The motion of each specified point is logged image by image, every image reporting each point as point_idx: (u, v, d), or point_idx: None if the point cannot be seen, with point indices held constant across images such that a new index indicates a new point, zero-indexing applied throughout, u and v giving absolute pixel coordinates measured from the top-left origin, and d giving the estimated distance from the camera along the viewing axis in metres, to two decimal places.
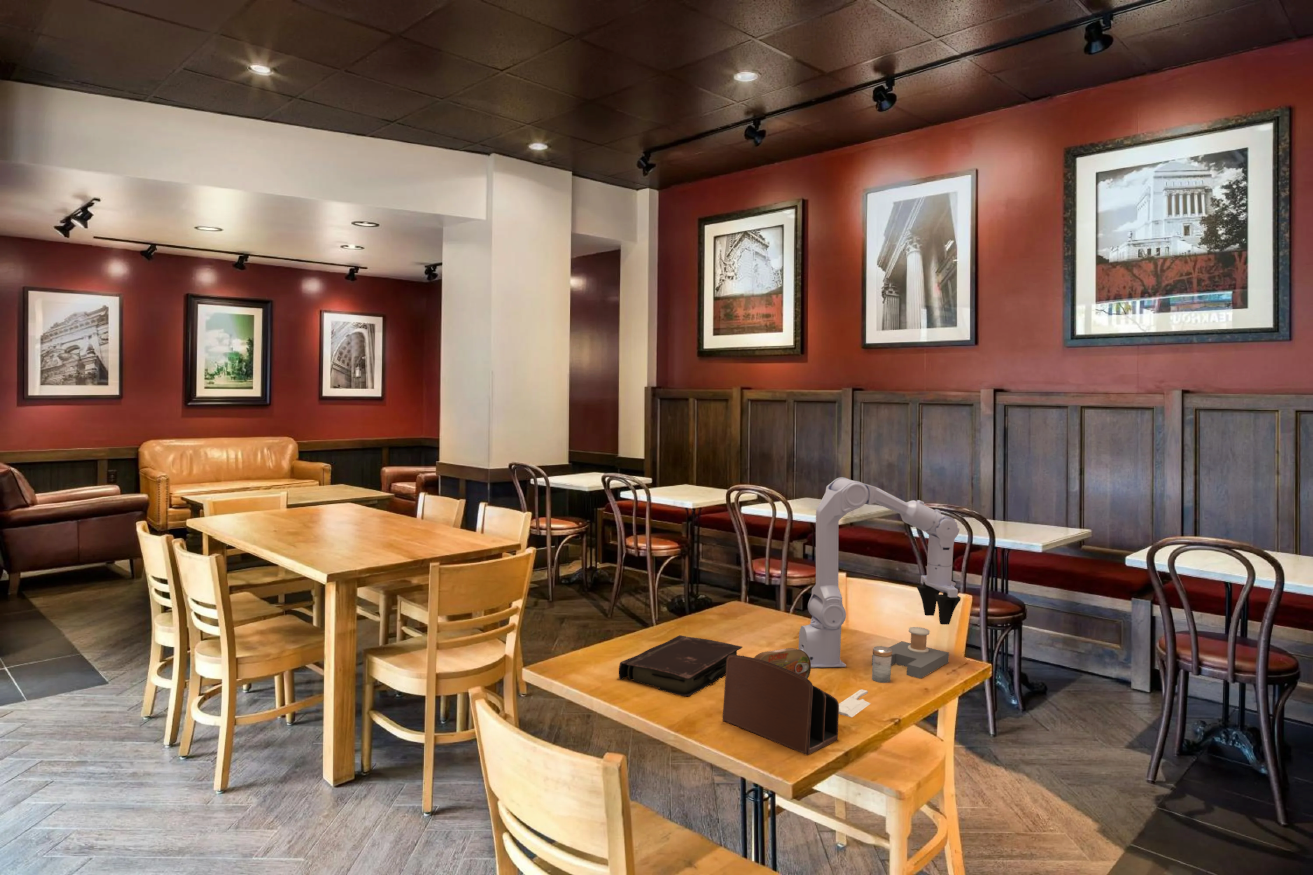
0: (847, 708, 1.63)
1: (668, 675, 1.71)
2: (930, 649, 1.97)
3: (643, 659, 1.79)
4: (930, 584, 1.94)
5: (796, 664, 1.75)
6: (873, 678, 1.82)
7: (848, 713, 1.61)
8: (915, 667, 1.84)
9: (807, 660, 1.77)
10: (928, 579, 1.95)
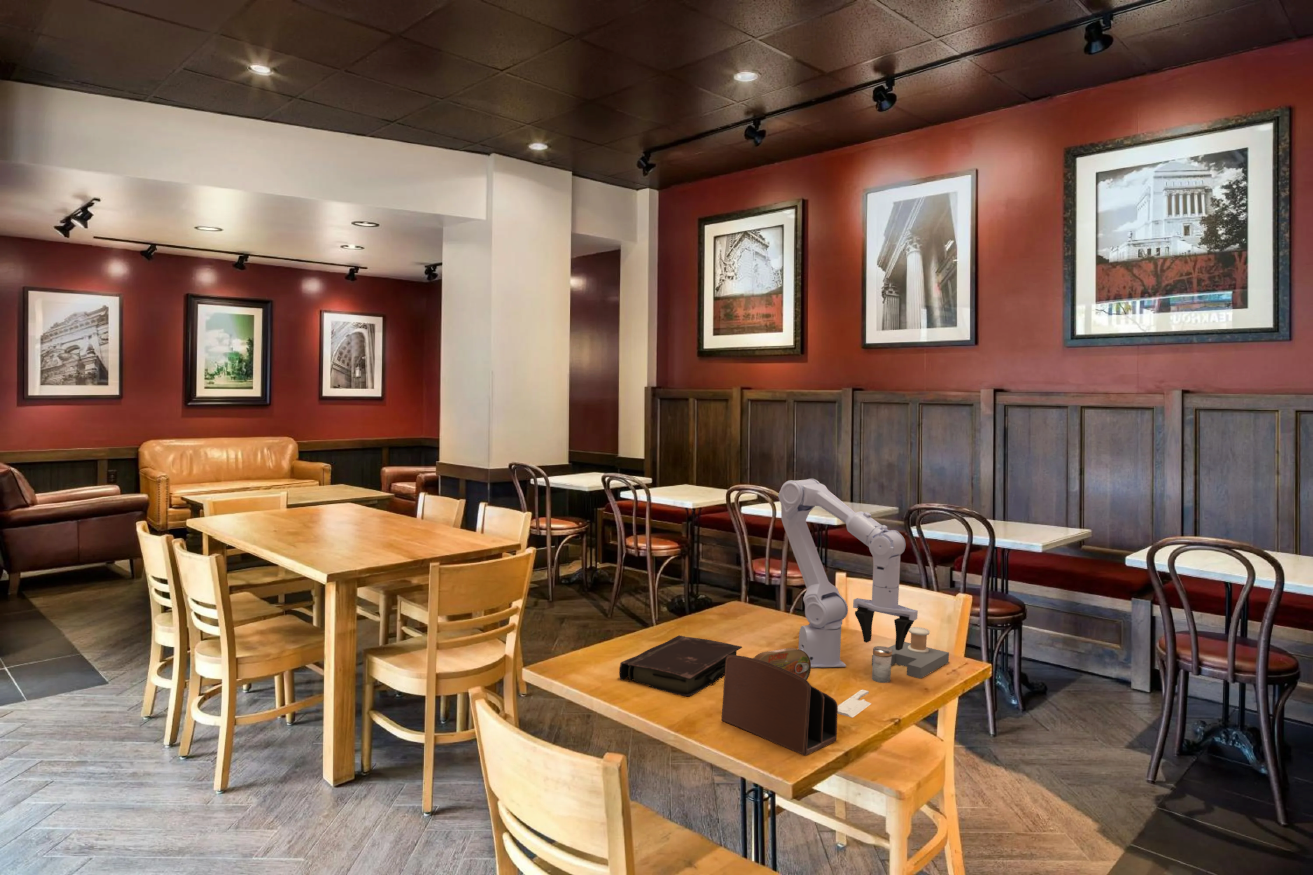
0: (848, 708, 1.63)
1: (669, 675, 1.71)
2: (930, 649, 1.97)
3: (643, 659, 1.79)
4: (884, 609, 1.78)
5: (796, 664, 1.75)
6: (873, 678, 1.82)
7: (849, 713, 1.61)
8: (915, 667, 1.84)
9: (807, 660, 1.77)
10: (880, 604, 1.79)
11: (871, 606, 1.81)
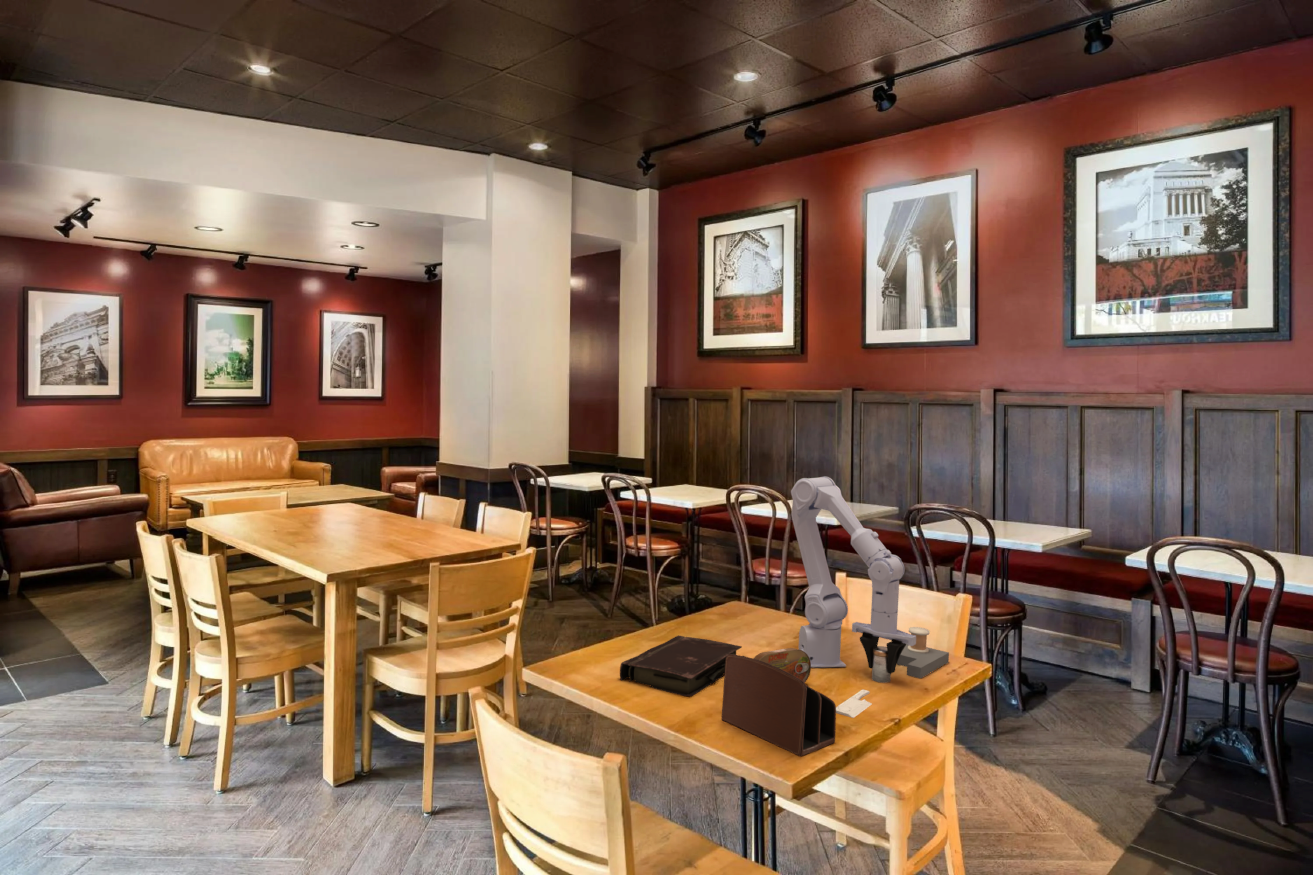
0: (849, 708, 1.63)
1: (670, 675, 1.71)
2: (930, 649, 1.97)
3: (644, 659, 1.79)
4: (883, 634, 1.79)
5: (796, 664, 1.75)
6: (873, 678, 1.82)
7: (850, 713, 1.61)
8: (915, 667, 1.84)
9: (807, 660, 1.77)
10: (878, 629, 1.79)
11: (870, 631, 1.81)
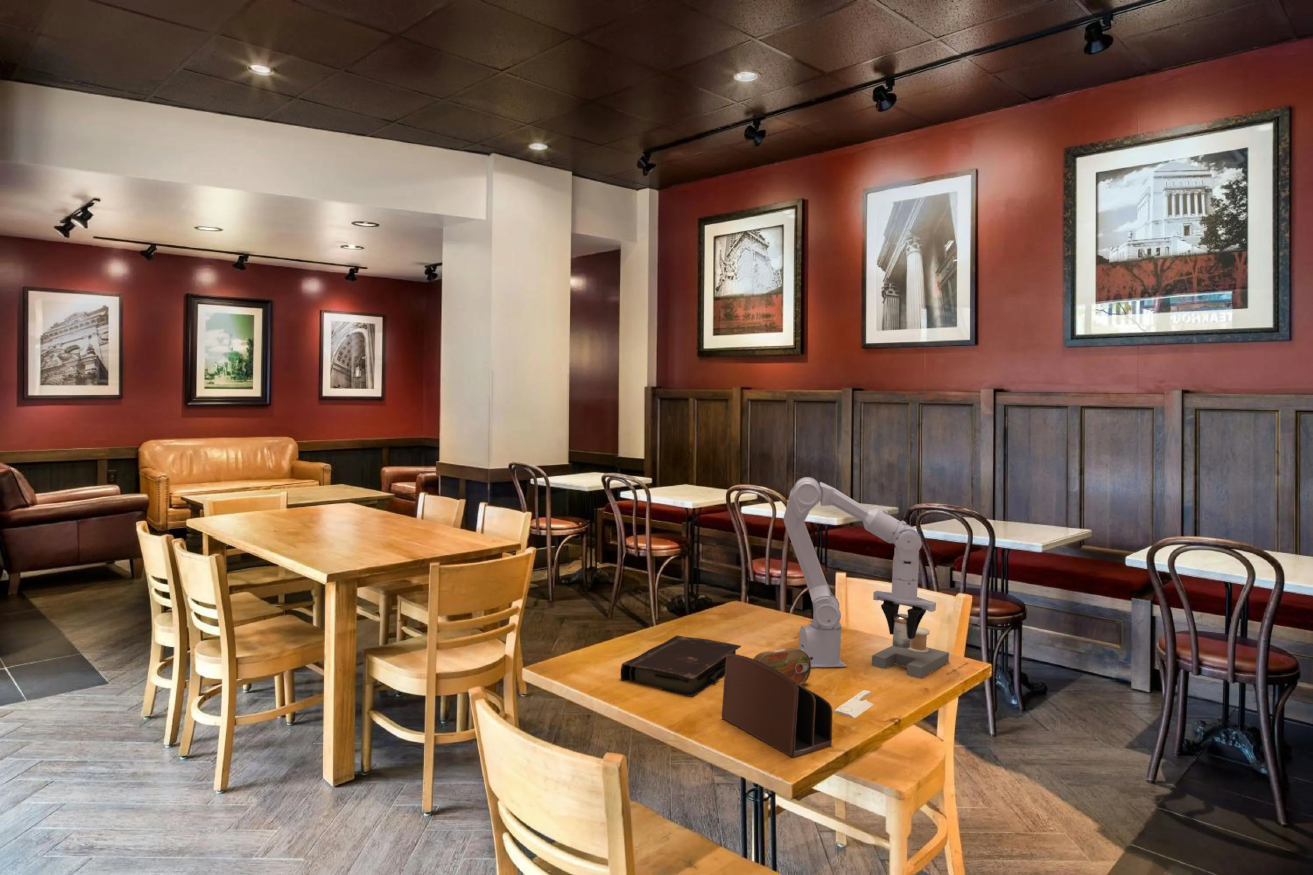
0: (850, 709, 1.63)
1: (672, 676, 1.71)
2: (930, 649, 1.97)
3: (644, 660, 1.78)
4: (904, 601, 1.86)
5: (796, 664, 1.75)
6: (894, 644, 1.89)
7: (851, 714, 1.61)
8: (915, 667, 1.84)
9: (807, 660, 1.77)
10: (899, 596, 1.87)
11: (891, 598, 1.88)
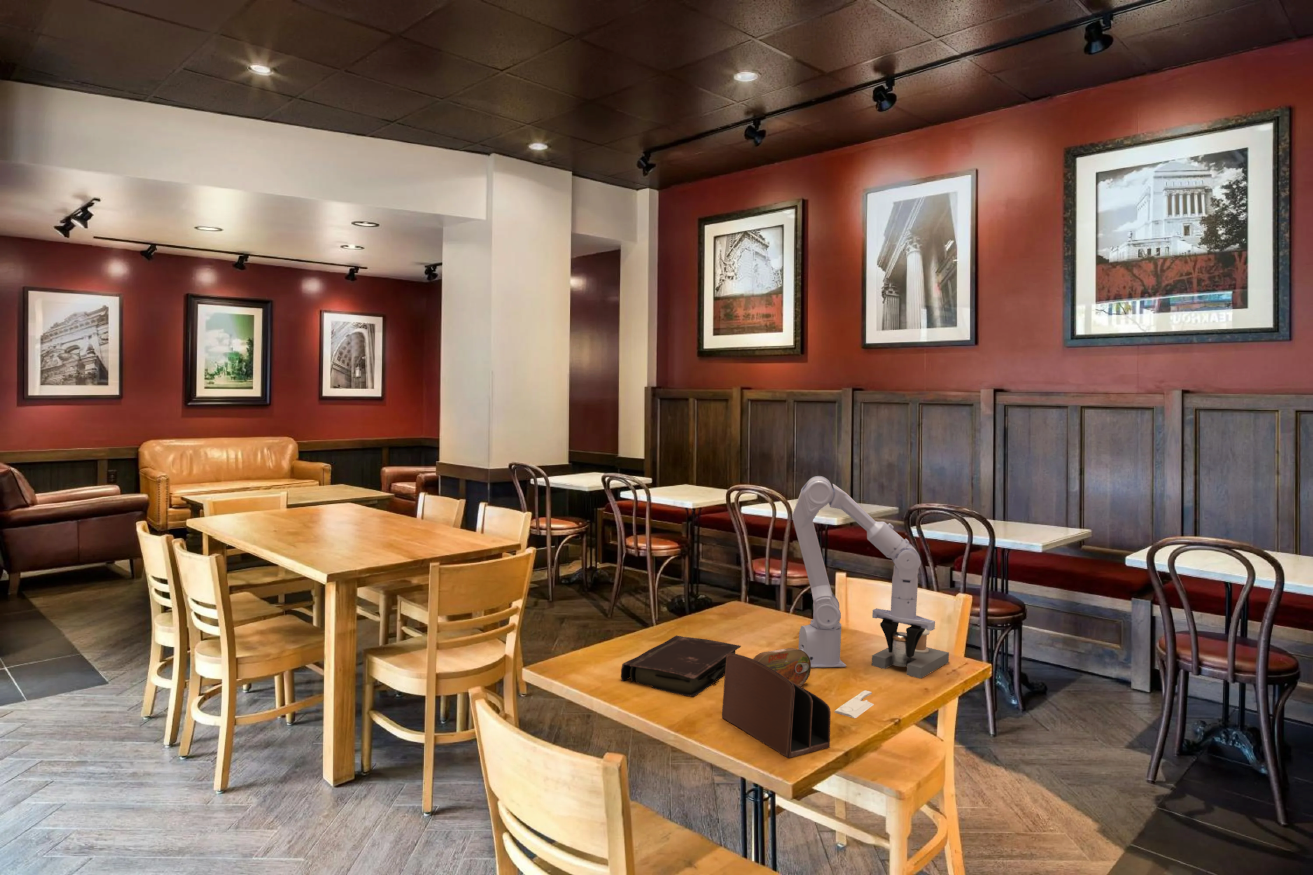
0: (851, 709, 1.63)
1: (672, 676, 1.71)
2: (930, 649, 1.97)
3: (645, 660, 1.78)
4: (903, 619, 1.86)
5: (796, 664, 1.75)
6: (893, 662, 1.89)
7: (852, 714, 1.60)
8: (915, 667, 1.84)
9: (807, 660, 1.77)
10: (899, 614, 1.87)
11: (890, 616, 1.88)
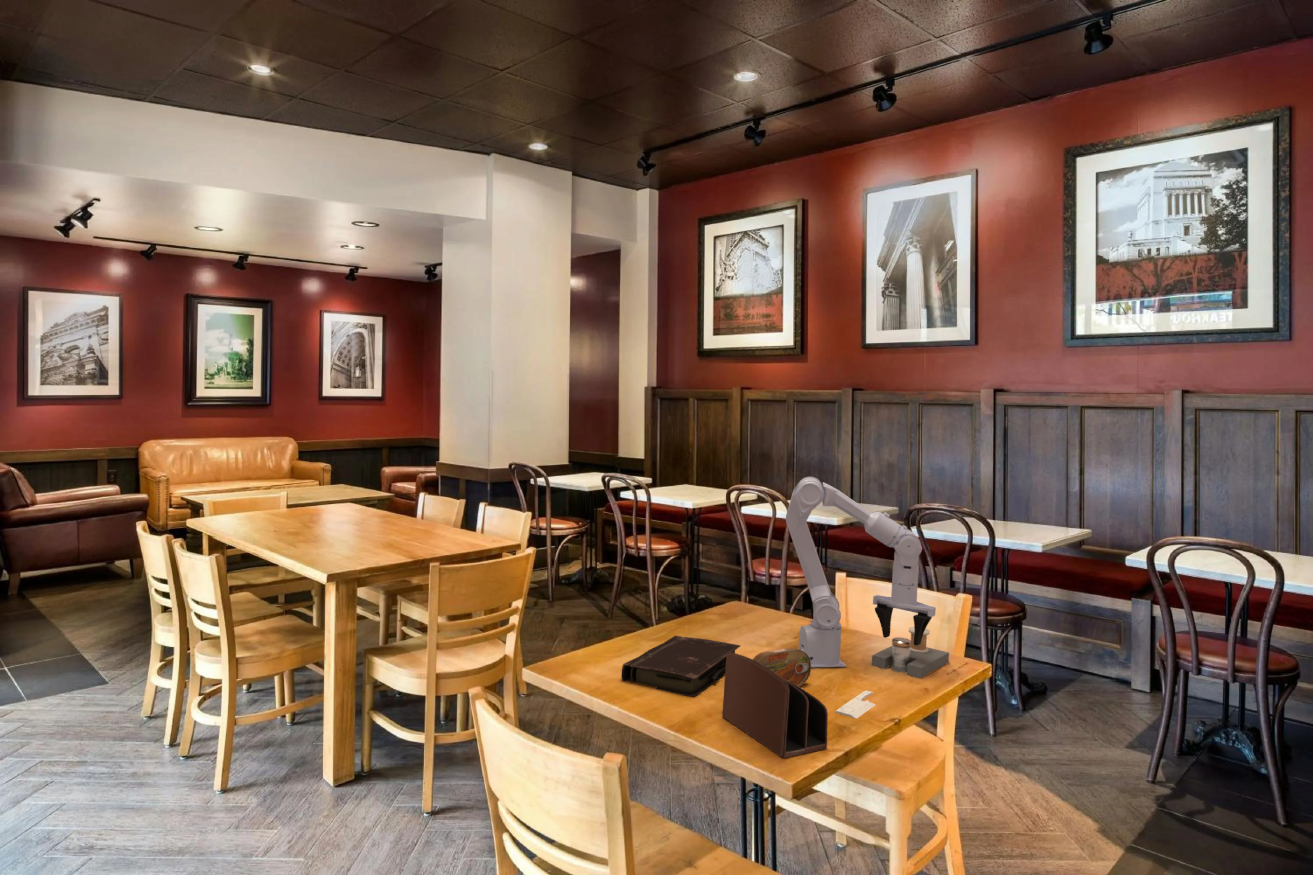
0: (852, 709, 1.63)
1: (673, 676, 1.71)
2: (930, 649, 1.97)
3: (645, 660, 1.78)
4: (903, 605, 1.86)
5: (796, 664, 1.75)
6: (892, 668, 1.89)
7: (853, 714, 1.60)
8: (915, 667, 1.84)
9: (807, 660, 1.77)
10: (899, 600, 1.87)
11: (891, 603, 1.88)
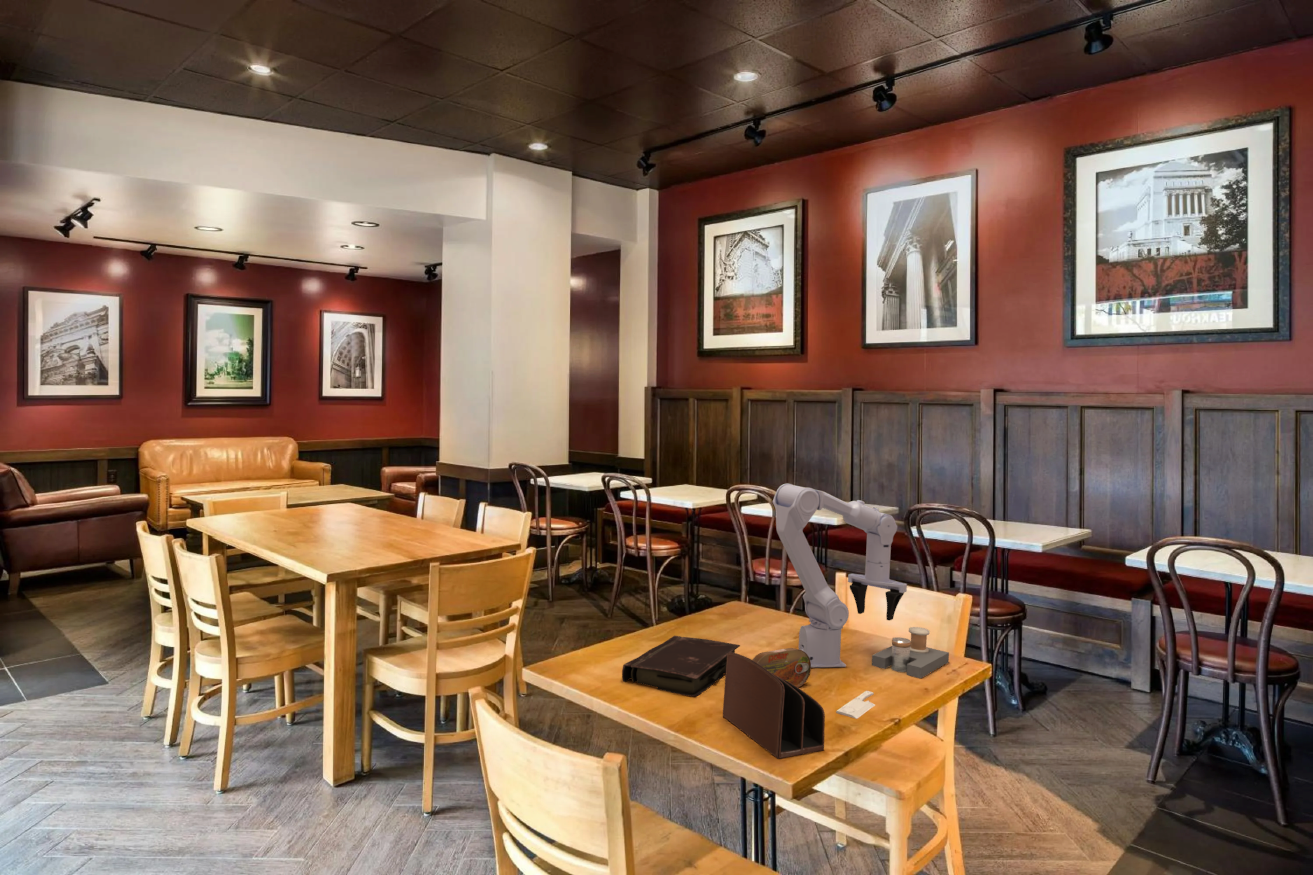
0: (853, 710, 1.62)
1: (674, 676, 1.71)
2: (930, 649, 1.97)
3: (646, 661, 1.78)
4: (876, 582, 1.95)
5: (796, 664, 1.75)
6: (892, 668, 1.89)
7: (854, 715, 1.60)
8: (915, 667, 1.84)
9: (807, 660, 1.77)
10: (872, 578, 1.96)
11: (864, 580, 1.97)
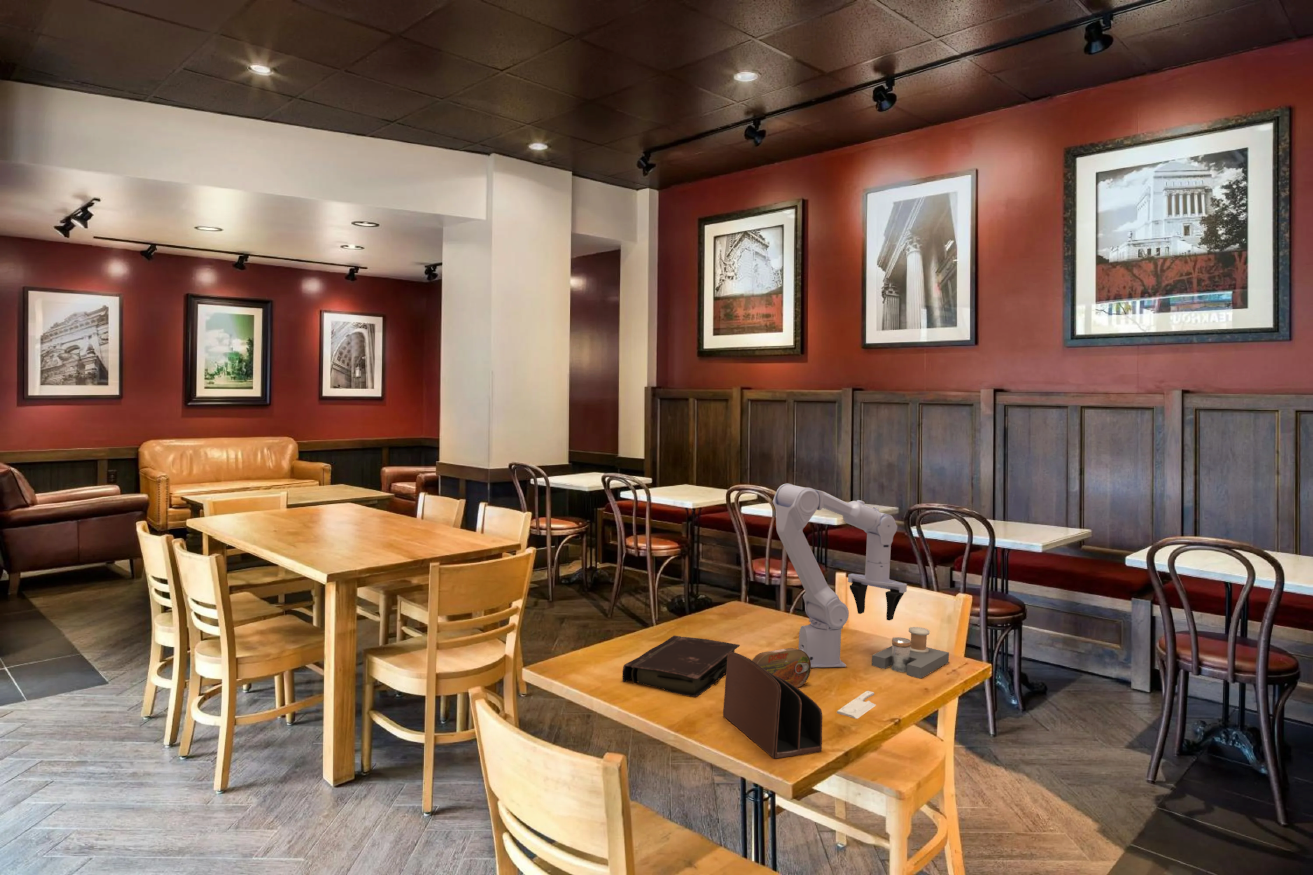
0: (853, 710, 1.62)
1: (675, 676, 1.71)
2: (930, 649, 1.97)
3: (646, 661, 1.78)
4: (876, 582, 1.95)
5: (796, 664, 1.75)
6: (892, 668, 1.89)
7: (854, 715, 1.60)
8: (915, 667, 1.84)
9: (807, 660, 1.77)
10: (872, 578, 1.96)
11: (864, 580, 1.97)
